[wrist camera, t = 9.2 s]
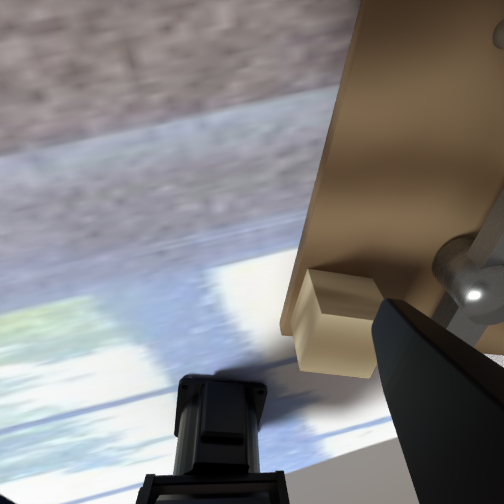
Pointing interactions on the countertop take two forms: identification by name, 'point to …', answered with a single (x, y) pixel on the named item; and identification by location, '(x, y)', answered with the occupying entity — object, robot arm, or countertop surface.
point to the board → (409, 150)
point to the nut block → (335, 324)
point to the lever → (472, 279)
